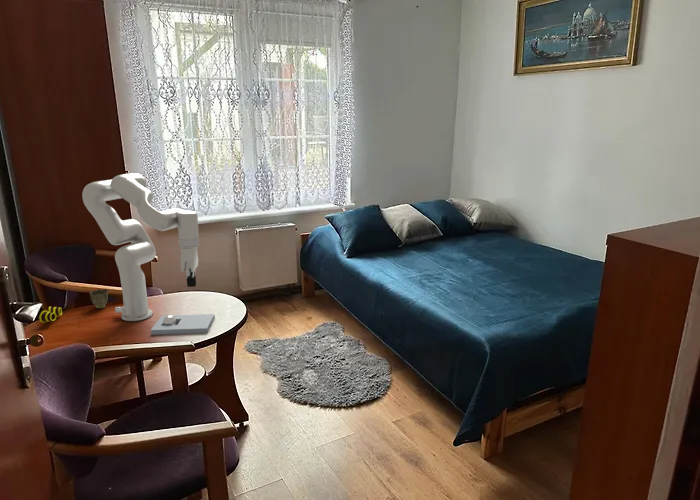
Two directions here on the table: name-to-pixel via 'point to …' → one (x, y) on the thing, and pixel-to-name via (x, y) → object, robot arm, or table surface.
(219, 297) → the table surface
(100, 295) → the cup
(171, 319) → the steel ball
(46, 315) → the yellow looped piece
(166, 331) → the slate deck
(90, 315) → the table surface
